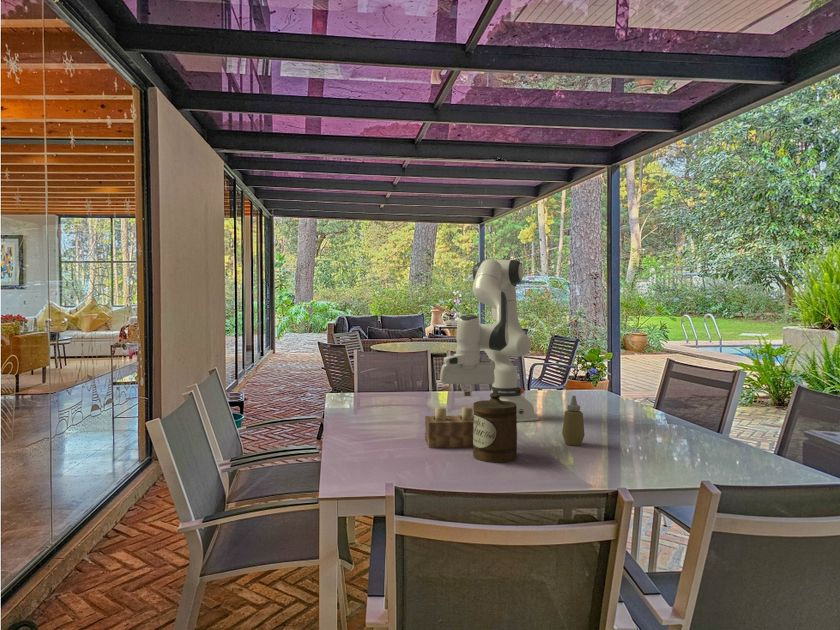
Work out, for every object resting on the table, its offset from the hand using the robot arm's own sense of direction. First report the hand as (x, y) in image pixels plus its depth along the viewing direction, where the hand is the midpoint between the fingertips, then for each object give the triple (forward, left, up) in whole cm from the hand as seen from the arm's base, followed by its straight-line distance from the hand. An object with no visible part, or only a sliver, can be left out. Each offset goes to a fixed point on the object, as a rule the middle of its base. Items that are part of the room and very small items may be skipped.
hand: (467, 396), depth 215 cm
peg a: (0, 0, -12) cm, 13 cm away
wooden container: (-6, +19, -18) cm, 27 cm away
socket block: (+5, 0, -18) cm, 18 cm away
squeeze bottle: (-39, +5, -18) cm, 43 cm away
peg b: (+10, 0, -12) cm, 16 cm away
